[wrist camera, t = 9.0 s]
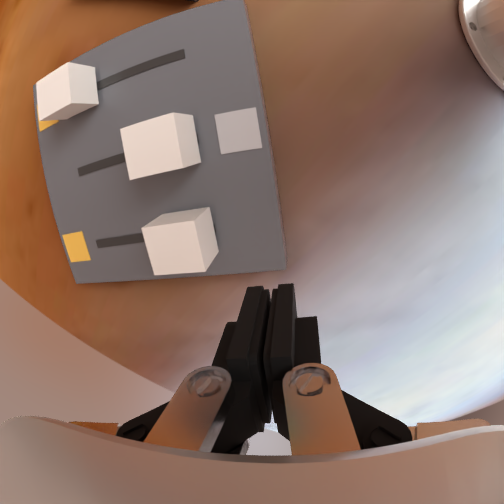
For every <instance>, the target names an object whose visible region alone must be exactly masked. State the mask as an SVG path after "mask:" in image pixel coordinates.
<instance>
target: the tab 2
mask: <svg viewBox="0 0 504 504" xmlns="http://www.w3.org/2000/svg"><path fill="white" fill-rule="evenodd" d="M120 132H121V137H122V143H123V149H124V154H125V159H126V164H127V169H128V174H129V179H130V180H133V179H137V178H141V177H145V176H149V175H154V174H158V173H163V172H167V171H172V170H177V169H181V168H185V167H188V166H191V165H194V164H197V163H201V159H200V153H199V148H198V142H197V136H196V131H195V125H194V119H193V115H188V114H181V113H174V112H173V113H169V114H166V115H162V116H159V117H155V118H152V119H149V120H146V121H142V122H139V123H136V124H133V125H130V126H127V127H124V128H121V129H120Z"/></svg>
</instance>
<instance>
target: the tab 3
mask: <svg viewBox="0 0 504 504" xmlns="http://www.w3.org/2000/svg"><path fill="white" fill-rule="evenodd" d="M141 229H142V233H143V237H144V240H145V244H146V248H147V251H148V255H149V258H150V262H151V265H152V268H153V272H154V275H168V274H182V273H195V272H206V270H207V269H208V267H209V266H210V264H211V263H212V261H213V260H214V258H215V257H216V255H217V253H218V252H219V250H218V246H217V241H216V236H215V231H214V226H213V221H212V216H211V211H210V207H205V208H198V209H192V210H185V211H179V212H172V213H166V214H162V215H160V216H159V217H157V218H156V219H154V220H153V221H151V222H150V223H148V224H147V225H145V226H144V227H142V228H141Z"/></svg>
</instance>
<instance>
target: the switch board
mask: <svg viewBox="0 0 504 504" xmlns="http://www.w3.org/2000/svg"><path fill="white" fill-rule="evenodd" d="M70 62H71V63H76V64H81V65H87V66H92V67H95V74H96V84H97V93H98V101H99V104H98V105H96V106H94V107H91V108H89V109H87V110H85V111H83V112H81V113H79V114H76V115H74V116H72V117H70V118H68V119H64V120H49V121H39V114H38V104H37V90H36V84H35V85H33V92H34V105H35V116H36V125H37V133H38V140H39V146H40V153H41V158H42V164H43V169H44V174H45V179H46V184H47V188H48V193H49V197H50V201H51V205H52V209H53V213H54V216H55V220H56V224H57V227H58V231H59V234H60V237H61V241H62V244H63V247H64V250H65V253H66V256H67V259H68V262H69V265H70V268H71V270H72V273H73V276H74V279H75V281H76V284H79V283H99V282H118V281H136V280H152V279H168V278H183V277H198V276H212V275H226V274H239V273H251V272H264V271H276V270H286V268H287V253H286V245H285V237H284V229H283V221H282V214H281V206H280V199H279V192H278V185H277V178H276V171H275V164H274V158H273V151H272V145H271V138H270V132H269V126H268V120H267V114H266V108H265V102H264V96H263V90H262V84H261V79H260V73H259V68H258V62H257V57H256V51H255V46H254V41H253V36H252V31H251V26H250V21H249V16H248V11H247V6H246V4H245V2H244V0H223V1H219V2H215V3H211V4H207V5H203V6H199V7H196V8H192V9H189V10H186V11H183V12H179V13H176V14H173V15H170V16H167V17H165V18H162V19H159V20H156V21H154V22H151V23H148V24H146V25H143V26H141V27H138V28H136V29H134V30H131V31H129V32H127V33H124V34H122V35H120V36H118V37H116V38H114V39H111V40H109V41H107V42H105V43H103V44H101V45H99V46H97V47H95V48H94V49H92V50H90V51H88V52H86V53H84V54H82V55H81V56H79V57H77V58H75V59H74V60H72V61H70ZM173 112H174V113H181V114H188V115H193V119H194V125H195V131H196V136H197V142H198V148H199V153H200V159H201V163H197V164H194V165H191V166H188V167H185V168H181V169H177V170H172V171H167V172H163V173H158V174H154V175H149V176H145V177H141V178H137V179H133V180H130V179H129V174H128V169H127V164H126V159H125V154H124V149H123V143H122V137H121V132H120V129H121V128H124V127H127V126H130V125H133V124H136V123H139V122H142V121H146V120H149V119H152V118H155V117H159V116H162V115H166V114H169V113H173ZM205 207H210V211H211V216H212V221H213V226H214V231H215V236H216V241H217V246H218V250H219V252H218V253H217V255H216V257H215V258H214V260H213V261H212V263H211V264H210V266H209V267H208V269H207V270H206V272H195V273H182V274H168V275H154V272H153V268H152V265H151V262H150V258H149V255H148V251H147V248H146V244H145V240H144V237H143V233H142V229H141V228H142V227H144V226H145V225H147V224H148V223H150V222H151V221H153V220H154V219H156V218H157V217H159V216H160V215H162V214H166V213H172V212H179V211H185V210H192V209H198V208H205Z"/></svg>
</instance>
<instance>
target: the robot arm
mask: <svg viewBox="0 0 504 504" xmlns="http://www.w3.org/2000/svg"><path fill="white" fill-rule="evenodd" d="M459 17H460V22H461V26H462V29H463V32H464V35H465V37H466V40H467V42H468V44H469V46H470V48H471V50H472V52H473V54H474V55H475V57H476V59H477V60H478V62H479V63H480V65H481V66H482V68H483V69H484V70H485V72H486V73H487V74H488V76H489V77H490V78H491V79H492V80H493V81H494V82H495V83H496V84H497V86H499V87H500V88H501V89H502V90H503V91H504V0H459ZM272 411H273V417H274V422H275V423H277V428H278V432H279V433H280V434H281V435H282V436H284V437H285V438H286V439H288V440H289V441H290V444H291V451H292V455H291V456H258V455H246V453H247V450H248V448H249V444H250V437H251V436H253V435H254V434H256V433H257V432H263V431H264V425H265V423H270V422H271V414H272ZM0 504H504V425H492V426H491V425H490V424H489V422H487V421H485V420H483V419H468V420H459V421H446V422H430V423H417V425H416V426H415V427H407V425H405V424H404V423H402V422H401V421H399V420H397V419H395V418H393V417H391V416H389V415H387V414H385V413H383V412H381V411H380V410H378V409H376V408H374V407H372V406H370V405H368V404H366V403H364V402H362V401H361V400H359V399H357V398H355V397H353V396H351V395H350V394H348V393H346V392H344V391H342V390H341V388H340V385H339V382H338V379H337V377H336V374H335V373H334V371H333V370H332V369H331V368H329V367H328V366H325V365H323V364H321V356H320V345H319V334H318V323H317V316H314V317H302V318H297V311H296V301H295V292H294V284H293V283H291V284H280V285H278V289H273V291H272V299H270V292H269V289H266V290H264V288H263V286H256V287H247V290H246V294H245V297H244V300H243V303H242V307H241V310H240V313H239V316H238V320H237V322H228V323H227V324H226V326H225V329H224V332H223V335H222V338H221V340H220V343H219V346H218V349H217V352H216V355H215V357H214V360H213V363H212V366H207V367H202V368H199V369H196V370H194V371H193V372H191V373H190V374H188V375H187V377H186V378H185V379H184V380H183V382H182V383H181V385H180V386H179V388H178V390H177V391H176V393H175V394H174V396H173V397H172V399H171V400H170V401H169V402H167V403H165V404H163V405H161V406H159V407H157V408H155V409H153V410H151V411H149V412H147V413H145V414H142V415H140V416H139V417H136V418H134V419H132V420H130V421H128V422H126V423H125V424H123V425H122V426H120V425H119V423H93V422H76V421H75V422H69V423H67V422H64V421H60V420H56V419H51V418H46V417H37V416H20V417H14V418H10V419H8V420H6V421H5V422H4V423H2V424H1V426H0Z"/></svg>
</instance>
